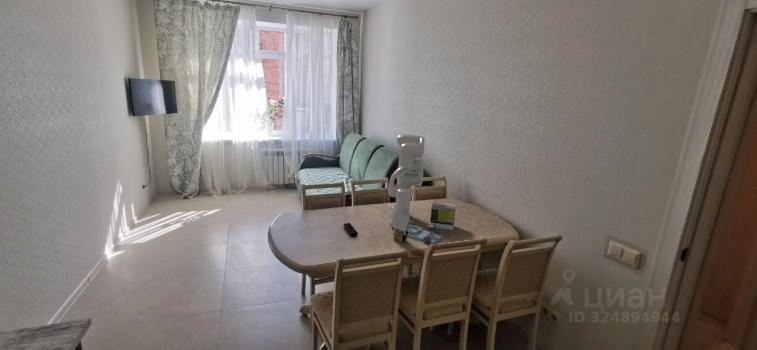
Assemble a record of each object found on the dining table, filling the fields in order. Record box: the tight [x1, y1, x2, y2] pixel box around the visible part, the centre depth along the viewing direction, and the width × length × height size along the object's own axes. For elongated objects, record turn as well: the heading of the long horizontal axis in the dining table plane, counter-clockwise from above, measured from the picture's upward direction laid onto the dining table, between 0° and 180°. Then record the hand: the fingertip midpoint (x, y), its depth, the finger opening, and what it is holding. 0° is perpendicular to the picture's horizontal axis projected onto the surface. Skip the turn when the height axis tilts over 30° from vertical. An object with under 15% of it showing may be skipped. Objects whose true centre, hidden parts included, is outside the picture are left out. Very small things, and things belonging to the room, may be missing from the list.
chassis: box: [407, 220, 443, 245], centre depth 216 cm, size 26×16×4 cm, turn 56°
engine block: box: [393, 230, 404, 244], centre depth 207 cm, size 5×5×7 cm
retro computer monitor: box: [429, 201, 457, 231], centre depth 230 cm, size 15×10×15 cm
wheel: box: [426, 224, 437, 234], centre depth 211 cm, size 5×5×5 cm
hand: (399, 239), depth 207 cm, fingers open, 5 cm apart
